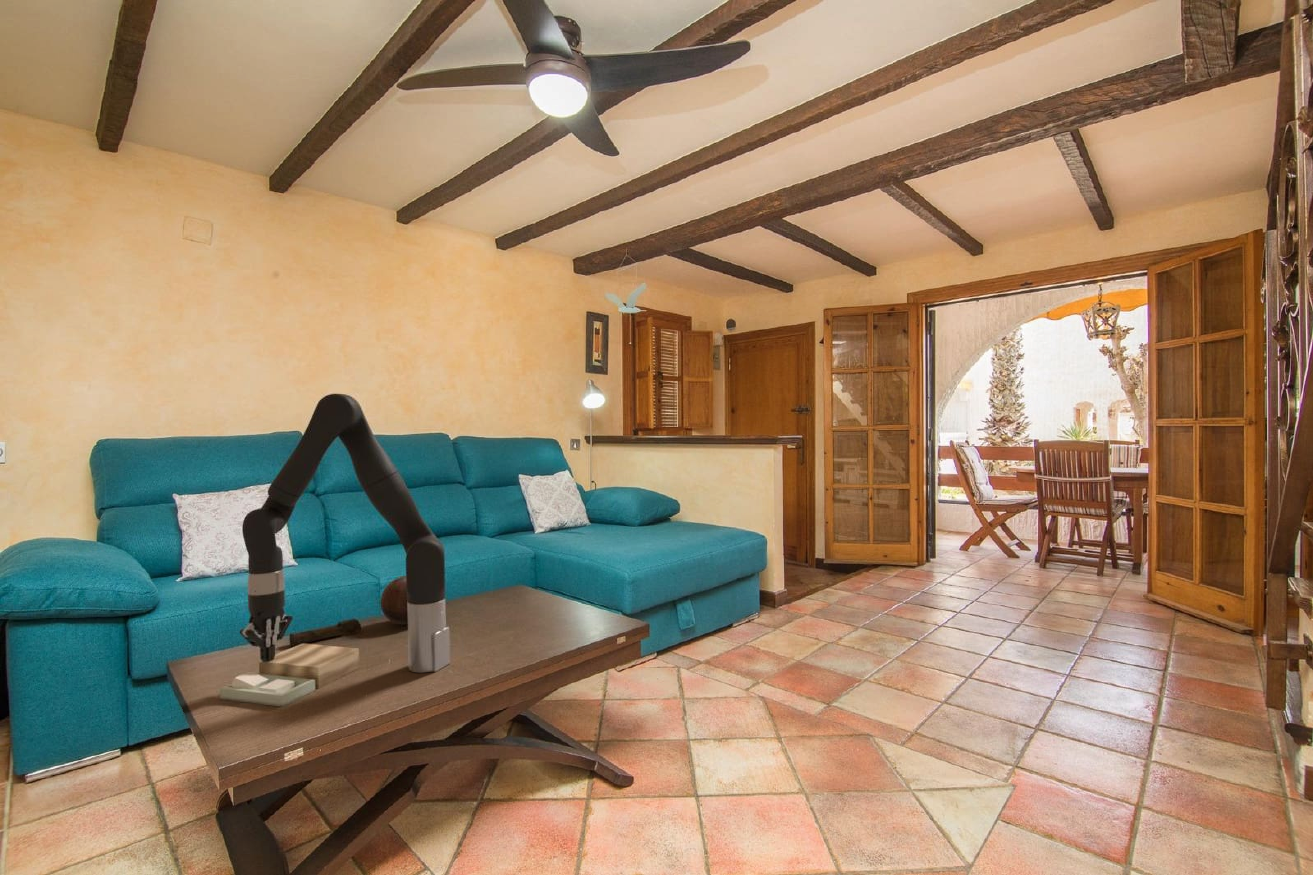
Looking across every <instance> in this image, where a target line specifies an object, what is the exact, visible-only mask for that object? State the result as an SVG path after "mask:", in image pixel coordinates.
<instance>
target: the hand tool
mask: <svg viewBox="0 0 1313 875" xmlns="http://www.w3.org/2000/svg"><path fill="white" fill-rule="evenodd" d="M337 622H338V621H337ZM361 631H362V625H361V623H360V621H359V620H358V619H356V618H350V619H345V620H344V619H343V620H341V621H339V622H338V623H337V624H335V625H329V626H326V627H320V628H317V629H310V630H305V631H301V632H296V633H289V644H290V647H291V648H293V647H295V646H298V645H300V644H303V643H304V644H309V643H311V642H315V641H321V640H324V639H330V638H333V637H334V638H335V637H340V638H342V637H343V638H344V637H347V636H350V635H354V634H356V633H359V632H361Z"/></svg>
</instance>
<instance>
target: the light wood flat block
mask: <svg viewBox="0 0 1313 875" xmlns="http://www.w3.org/2000/svg"><path fill="white" fill-rule="evenodd" d="M358 669H360V649H359V648H357V647H355V648H354V647H345V646H336V645H335V646H334V645H323V644H315V643H314V644H313V643H303V644H300V645H296V646H294V647H291V648H288V649H286V650H283V651H281V652H278V653H275V657H274V660H272V661H270V662H263V661H262V660H261V659H260V660H259V661H258V673H260V674H269V675H278V676H287V677H296V678H305V679H314V680H315V689H320V688H323V687H325V686H327V685H328V684H330V683H332V682H334V681H337V680H338V679H340V678H342V677H344V676H347V675H348V674H350V673H352V672H354V671H356V670H358Z"/></svg>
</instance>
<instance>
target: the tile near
mask: <svg viewBox="0 0 1313 875" xmlns="http://www.w3.org/2000/svg"><path fill="white" fill-rule="evenodd" d="M293 688H295V685H294V681H290V680H281V679H277V680H274V681H272V682H270V683H268V684H266V685H263V686H261V687H259V691H267V692H275V693H284V692H286V691H288V690H290V689H293Z"/></svg>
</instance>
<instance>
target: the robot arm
mask: <svg viewBox="0 0 1313 875" xmlns="http://www.w3.org/2000/svg"><path fill="white" fill-rule="evenodd" d="M337 438H339V440H340V441H341V443H342V444H343V445H344V447H345V449H346V451H347V453H348V454H349V455H348V456H349V458H350V459H351V463H352V467H353V469H354V472H355V475H356V478H357V481H358V482H359V485H360V487H361V488H362V490H363V492H364V494H365V495H366V497H367V499H368V500H369V502H370V503H371V505H372V506H373V507H374V509H376V510H375V511H377V512H378V513H379V514H380V516H381V517H383V519H384V520H385V521H386V522H387V523H388V524H389V525H390V527H391V528H392V529H393V530H394V532H395V533H396V535H397V538H398V539H399V541H400V543H401V545H402V547H403V549H404V552H405V554H406V556H405V576H406V589H407V607H408V624H407V640H408V641H407V643H408V644H407V645H408V646H407V648H408V649H407V650H408V651H407V652H408V670H409V671H410V672H413V673H429V672H430V673H431V672H439V671H440V670H441V669H443V668H444V667H446V666H447V665H449V664H450V663H451V653H450V652H451V648H450V646H451V645H450V642H451V640H450V639H451V637H450V627H449V626H447V620H446V618H447V617H446V562H445V561H446V559H445V549H444V546H443V544H442V542H441V541H440V540H439V539H438V537H437V536H436V534H435V533H434V532H433V531H432V530H431V528H430V527H429V526H428V524H427V523H426V521H425V519H423V517H422V516H421V513H420V512H419V510H418V507H417V505H416V503H415V500H414V499H413V496H412V494H411V492H410V490H409V489H408V487H407V484H406V483H405V481H404V479H403V477H402V476H401V473H400V472H399V471H398V469H397V467H396V466H395V464H394V462H393V461H392V460H391V458H390V457H389V455H388V454H387V453H386V451H385V449H383V447H382V446H381V444H380V443H379V441H378V440H377V438H376V436H375V435H374V432H373V430H372V428H371V426H370V425H369V423H368V421H367V419H366V416H365V414H364V411H363V409H362V406H361V405H360V403H359V402H358V401H357V400H356V399H355V398H354V397H352V396H351V395H349V394H345V393H330V394H327V395H325V396H323V397H322V398H320V400H318V402H317V404H316V406H315V409H314V411H313V413H312V415H311V418H310V419H309V423H308V425H307V427H306V428H305V431H304V433H303V435H302V437H301V439H300V440H299V442H298V444H297V445H296V447H295V448H294V450H293V451H292V453H291V455H290V456H289V457H288V459H287V460H286V462H285V463H284V464H283V466H281V469H280V470H279V472H278V473H277V475H276V476H275V478H274V479H273V481H272V482H271V483H270V485H269V488H268V489H267V495H268V497H267V498H266V500H265V502H264V503H263V505H262V506H261V507H260V508H256V509H253V510H251V511H249V512H248V513H247V514H246V515H245V516H244V518H243V522H242V530H241V531H242V537H243V542H244V545H245V546H244V547H245V548H246V552H247V555H248V558H247V560H248V565H247V566H248V579H247V610H248V612H249V616H250V617H249V619H248V625H247V626H246V627H245V628H241V629H240V630H239V635H241V636H242V638H244V639H245V640H246V641H247V642H248V643H249V644H250V646H252V647H258V648H259V649H260V650H259V651H260V652H259V656H260V657H259V658H260V661H261V660H262V661H263V662H270V661H272V660H274V657H275V655H276V644H277V642H278V641H279V640H282V639H283V638H284V636H285V634H286V632H287V630H288V629H289V626H290V625H291V623H292V621H293V616H292V615H287V614H286V613H285V610H284V607H285V605H286V596H285V595H286V590H285V588H286V587H285V586H286V585H285V575H284V560H283V559H284V555H283V550H282V548H281V547H280V546H279V545H277V539H276V534H277V533H279V532H280V531H282V529H284V527H285V526H286V525H287V524H288V522H289V520H290V518H291V516H292V514H293V512H294V510H295V508H296V505H297V503H298V501H299V500H300V499H301V497H302V496H303V494H304V493H305V492H306V490H307V489H308V487H309V485H310V483H311V482H312V480H313V478H314V476H315V475H316V472H317V470H318V468H319V466H320V464H321V461H322V459H323V457H324V455H325V454H326V452H327V451H328V449H329V448H330V446H331V445H332V443H333V442H334V441H335V440H336V439H337Z"/></svg>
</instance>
